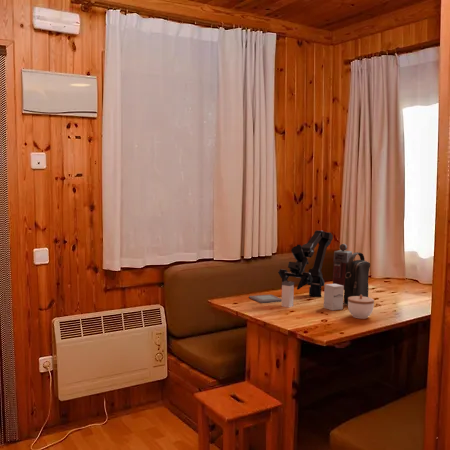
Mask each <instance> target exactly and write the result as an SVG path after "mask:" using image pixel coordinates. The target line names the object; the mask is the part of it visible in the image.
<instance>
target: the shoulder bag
mask: <svg viewBox="0 0 450 450" xmlns="http://www.w3.org/2000/svg"><path fill="white" fill-rule="evenodd" d="M357 255H358V257H359V259H356V260H355V258H356V256H357ZM370 268H371V263H370V262H369V261H367V260H365V256H364V254H363V253H362V252H352V254H351V256H350V258H349V261H348V262H347V263H346V269H345V288H344V294H343V306H348V297H351V296H360V295H362V296H363V297H369V273H370Z"/></svg>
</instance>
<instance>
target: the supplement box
mask: <svg viewBox="0 0 450 450" xmlns="http://www.w3.org/2000/svg"><path fill="white" fill-rule="evenodd" d="M323 288H324V290H323V291H324V292H323V308H324V309H326V310H330V311H337V310H343V308H344V305H343V303H344V286H343V285H339V284H333V283H326V284H325V283H324V286H323Z"/></svg>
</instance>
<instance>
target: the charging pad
mask: <svg viewBox="0 0 450 450" xmlns="http://www.w3.org/2000/svg"><path fill="white" fill-rule="evenodd" d="M248 298H249V299H250V300H253V301H256V302H257V303H259V304H269V303H280V302H281V303H282V297H278V296H276V295H273V294H260V295H259V294H257V295H249V297H248Z"/></svg>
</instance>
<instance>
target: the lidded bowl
mask: <svg viewBox="0 0 450 450" xmlns="http://www.w3.org/2000/svg"><path fill="white" fill-rule="evenodd" d="M374 303H375V299H374V298H372V297H369V296H368V297H363V296H362V295H360V296H351V297H348V305H347V306H348V311H349V313H350V315H352V318H355V319H359V320H361V319H362V320H365V319H368V317H370V316H371V314H372V313H373V311H374V305H375V304H374Z"/></svg>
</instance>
